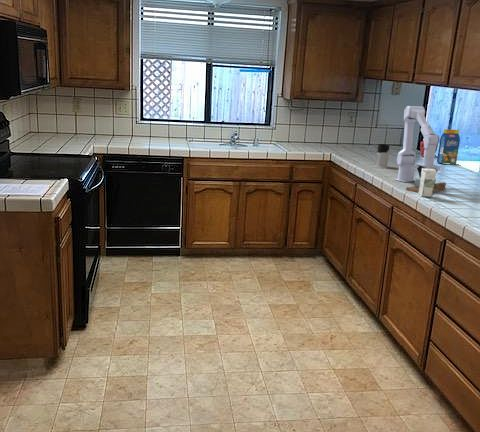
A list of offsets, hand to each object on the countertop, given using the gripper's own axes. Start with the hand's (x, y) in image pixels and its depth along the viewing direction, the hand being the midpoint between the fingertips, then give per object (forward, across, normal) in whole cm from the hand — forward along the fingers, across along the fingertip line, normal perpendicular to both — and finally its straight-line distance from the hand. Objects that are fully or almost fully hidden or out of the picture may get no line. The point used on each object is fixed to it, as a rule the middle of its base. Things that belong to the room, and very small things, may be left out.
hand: (425, 181), depth 287 cm
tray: (+3, 0, 0) cm, 3 cm away
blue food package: (+5, -46, +96) cm, 107 cm away
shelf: (+5, +1, 0) cm, 5 cm away
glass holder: (+5, -60, +34) cm, 69 cm away
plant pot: (+5, -73, +112) cm, 134 cm away
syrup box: (+5, +10, -14) cm, 18 cm away
